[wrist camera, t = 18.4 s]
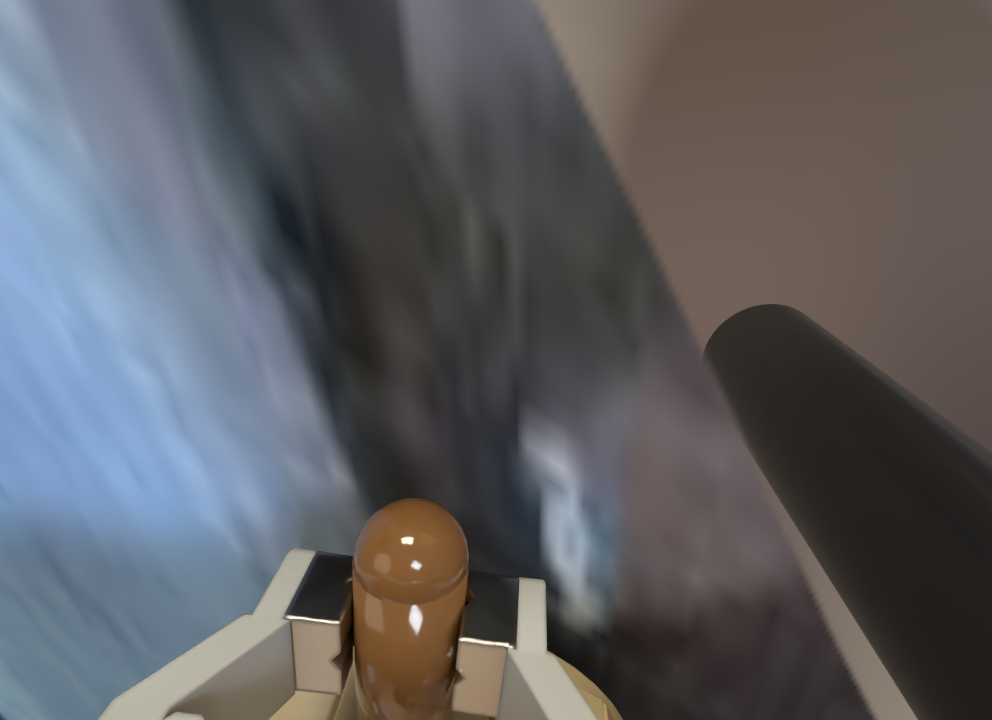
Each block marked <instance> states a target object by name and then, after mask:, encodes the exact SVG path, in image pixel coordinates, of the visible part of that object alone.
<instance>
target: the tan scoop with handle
mask: <svg viewBox="0 0 992 720" xmlns="http://www.w3.org/2000/svg"><path fill="white" fill-rule="evenodd" d="M352 570H353V612H354V646H353V663H352V666H351V669H350V672H349V675H348V678H347V681H346V684H345V687H344V689H343V692H342V695H333V694H323V693H314V692H304V691H295V694H294V695H293V696H292V697H291V698H290V699H289V700H288V701H287V702H286V703H285V704H284V705H283V706H282V707H281V708H280V709H279V710H278V711H277V712H276V713H275V714H274V715H273V716H272V717H271V718H270V719H269V720H497V718H496V717H490V716H484V715H478V714H471V713H465V712H459V711H453V710H452V700H453V689H454V680H455V673H456V660H457V651H458V642H459V635H460V628H461V621H462V614H463V608H464V607H465V599H466V590H467V580H468V570H469V546H468V541H467V538H466V534H465V532H464V530H463V528H462V526H461V524H460V523H459V521H458V520H457V518H456V517H455V516H454V515H453V514H452V513H451V512H450V511H449V510H447V509H446V508H445V507H443V506H442V505H440V504H438V503H436V502H434V501H431V500H427V499H422V498H405V499H400V500H397V501H394V502H391V503H389V504H387V505H385V506H384V507H382V508H381V509H379V510H378V511H377V512H375V513H374V514H373V515H372V516H371V517H370V518H369V519H368V521H367V522H366V523H365V525H364V526H363V527H362V529H361V531H360V533H359V535H358V537H357V540H356V543H355V546H354V550H353V560H352ZM547 654H551V655H555V654H553V653H551V652H549V651H547ZM555 656H556V655H555ZM556 657H557V659H558V660H559V662H560V663H561V665H562V666H563V668H564V669H565V671H566V672H567V674H568V675H569V677H570V678H571V680H572V681H573V683H574V684H575V686H576V687H577V689H578V690H579V692H580V693H581V695H582V696H583V698H584V699H585V701H586V702H587V704H588V705H589V707H590V708H591V710H592V711H593V713H594V714H595V716H596V717H597V719H598V720H623V718H622V717H621V715H620V714H619V712H618V711H617V709H616V708H615V706H614V705H613V703H612V702H611V701H610V700H609V699H608V697H607V696H606V695H605V694H604V693H603V692H602V691H601V690H600V689H599V688H598V687H597V686H596V684H594V683H593V682H592V681H591V680H590V679H588V678H587V677H586V676H585V675H583V674H582V673H581V672H580V671H579V670H577V669H576V668H575V667H573V666H572V665H570V664H569V663H567V662H565V661H564V660H562V659H561V658H559V657H558V656H556Z"/></svg>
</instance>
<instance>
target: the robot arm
mask: <svg viewBox="0 0 992 720" xmlns="http://www.w3.org/2000/svg"><path fill="white" fill-rule="evenodd" d="M352 560H353V556H348V555H341V554H335V553H328V552H322V551H312V550H306V549H299V548H293V549H292V550H291V551H290V552H288V553H287V555H286V557H285V558H284V560H283V562H282V564H281V565H280V567H279V569H278V571H277V572H276V574H275V576H274V577H273V579H272V581H271V583H270V584H269V586H268V588H267V590H266V591H265V593H264V595H263V597H262V598H261V600H260V602H259V604H258V605H257V607H256V609H255V610H254V612H253V614H252V615H248V614H244V615H242V616H241V617H239V618H237V619H236V620H234V621H233V622H231V623H230V624H228V625H227V626H225V627H224V628H222V629H221V630H219V631H217V632H216V633H214V634H213V635H211V636H210V637H208V638H207V639H205V640H204V641H202V642H201V643H199V644H197V645H196V646H194V647H193V648H191V649H190V650H188V651H187V652H185V653H184V654H182V655H181V656H179V657H177V658H176V659H174V660H173V661H171V662H170V663H168V664H167V665H165V666H164V667H162V668H160V669H159V670H157V671H156V672H154V673H153V674H151V675H150V676H148V677H147V678H145V679H144V680H142V681H140V682H139V683H137V684H136V685H134V686H133V687H131V688H130V689H128V690H127V691H125V692H124V693H122V694H120V695H119V696H117V697H116V698H114V699H113V700H112V701H111V702H110V704H109V705H108V706H107V708H106V709H105V710H104V712H103V713H102V715H101V716H100V717H99V719H98V720H269V719H270V718H271V717H272V716H273V715H274V714H275V713H276V712H277V711H278V710H279V709H280V708H281V707H282V706H283V705H284V704H285V703H286V702H287V701H288V700H289V699H290V698H291V697H292V696H293V695H294V694H295V691H304V692H314V693H323V694H333V695H342V692H343V689H344V687H345V684H346V681H347V678H348V675H349V672H350V669H351V666H352V663H353V646H354V612H353V570H352ZM452 710H453V711H459V712H465V713H471V714H478V715H484V716H490V717H496V718H497V720H598V719H597V717H596V716H595V714H594V713H593V711H592V710H591V708H590V707H589V705H588V704H587V702H586V701H585V699H584V698H583V696H582V695H581V693H580V692H579V690H578V689H577V687H576V686H575V684H574V683H573V681H572V680H571V678H570V677H569V675H568V674H567V672H566V671H565V669H564V668H563V666H562V665H561V663H560V662H559V660H558V659H557V657H556V656H555V655H551V654H547V623H546V584H545V582H544V580H539V579H531V578H523V577H519V579H518V577H514V576H506V575H497V574H489V573H480V572H472V571H469V575H468V581H467V590H466V599H465V607H464V608H463V614H462V621H461V628H460V635H459V642H458V651H457V660H456V673H455V680H454V689H453V700H452Z"/></svg>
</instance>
